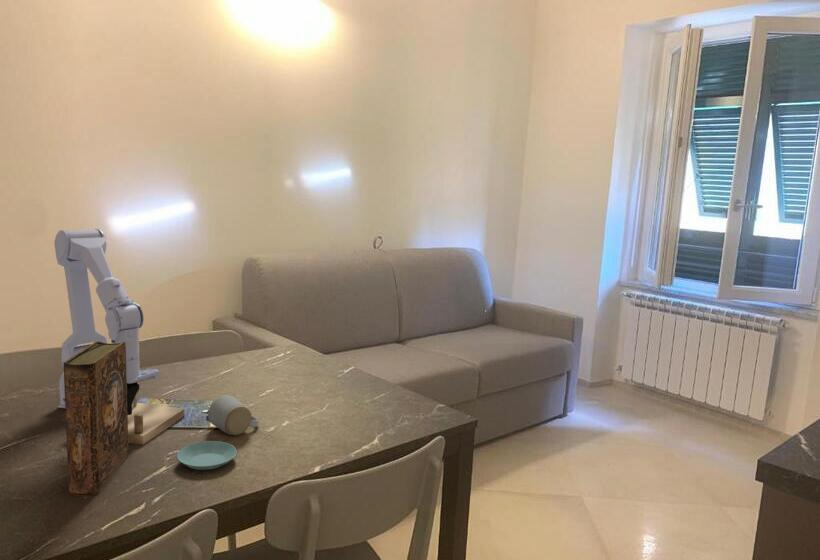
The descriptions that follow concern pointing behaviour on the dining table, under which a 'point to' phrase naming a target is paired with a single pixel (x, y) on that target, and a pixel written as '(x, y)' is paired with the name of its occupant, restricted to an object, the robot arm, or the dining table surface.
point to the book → (95, 416)
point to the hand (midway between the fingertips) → (127, 413)
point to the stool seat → (150, 421)
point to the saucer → (206, 455)
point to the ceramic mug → (231, 415)
